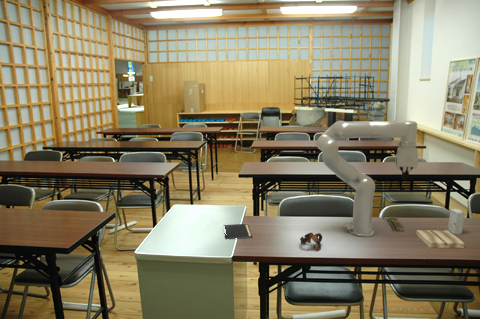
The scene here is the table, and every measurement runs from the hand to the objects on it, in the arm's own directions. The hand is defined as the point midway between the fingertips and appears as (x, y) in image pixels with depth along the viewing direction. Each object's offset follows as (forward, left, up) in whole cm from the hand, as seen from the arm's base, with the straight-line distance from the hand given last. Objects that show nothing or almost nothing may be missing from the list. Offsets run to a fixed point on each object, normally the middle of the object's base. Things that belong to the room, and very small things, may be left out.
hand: (404, 179), depth 187 cm
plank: (+10, -13, -29) cm, 33 cm away
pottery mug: (-51, -22, -29) cm, 63 cm away
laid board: (+18, -13, -29) cm, 37 cm away
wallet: (-90, -3, -30) cm, 95 cm away
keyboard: (-1, +9, -30) cm, 31 cm away
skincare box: (+28, -1, -29) cm, 41 cm away
